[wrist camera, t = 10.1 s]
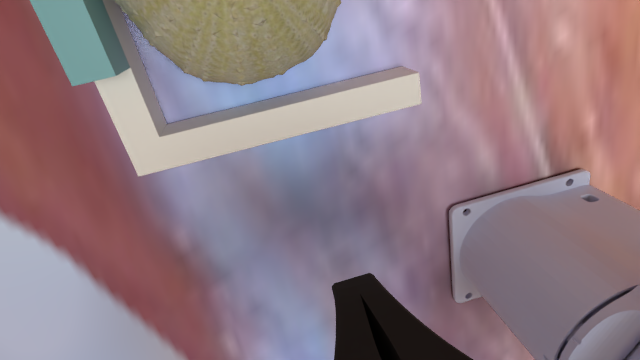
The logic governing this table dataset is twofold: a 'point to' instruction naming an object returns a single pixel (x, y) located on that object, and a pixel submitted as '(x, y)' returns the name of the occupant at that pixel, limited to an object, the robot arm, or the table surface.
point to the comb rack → (211, 129)
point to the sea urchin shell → (233, 34)
